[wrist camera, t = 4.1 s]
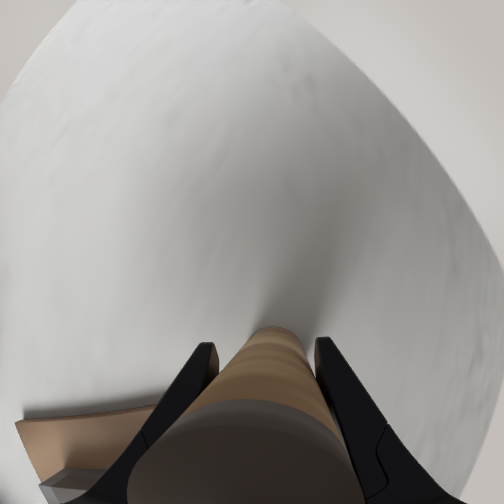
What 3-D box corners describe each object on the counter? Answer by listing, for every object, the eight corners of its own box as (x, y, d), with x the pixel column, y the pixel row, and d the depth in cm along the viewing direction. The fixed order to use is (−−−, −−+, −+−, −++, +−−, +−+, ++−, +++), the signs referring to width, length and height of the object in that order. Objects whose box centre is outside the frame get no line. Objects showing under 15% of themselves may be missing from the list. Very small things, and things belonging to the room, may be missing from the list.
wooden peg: (310, 373, 15) (379, 558, 2) (254, 391, 15) (181, 587, 3) (293, 319, 16) (334, 391, 3) (236, 337, 16) (92, 441, 3)
